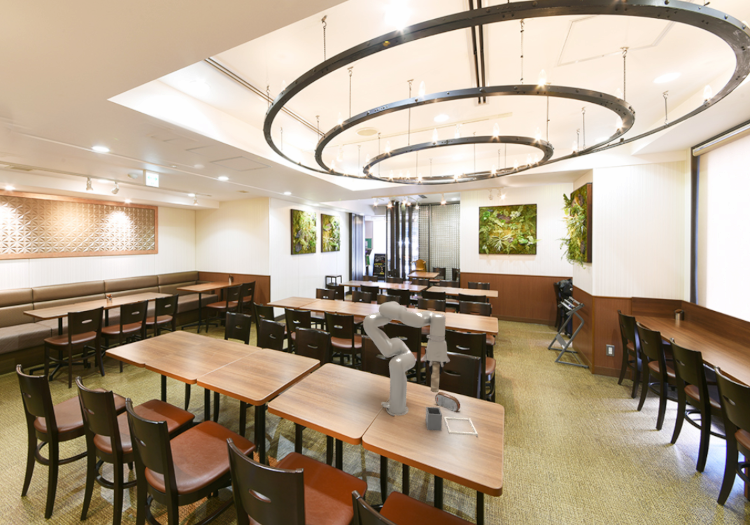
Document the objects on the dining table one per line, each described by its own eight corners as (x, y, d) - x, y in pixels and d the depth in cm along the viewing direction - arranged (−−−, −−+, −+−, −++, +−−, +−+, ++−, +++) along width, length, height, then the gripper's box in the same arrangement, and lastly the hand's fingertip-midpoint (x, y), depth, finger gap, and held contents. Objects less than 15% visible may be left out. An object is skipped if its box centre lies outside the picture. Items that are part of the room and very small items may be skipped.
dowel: (431, 392, 145) (432, 365, 144) (430, 388, 149) (431, 362, 148) (439, 392, 145) (440, 365, 144) (437, 388, 149) (439, 362, 148)
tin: (460, 413, 162) (460, 398, 162) (457, 415, 160) (458, 400, 160) (436, 403, 172) (437, 389, 172) (434, 405, 170) (434, 391, 170)
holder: (427, 431, 144) (428, 414, 144) (425, 423, 151) (426, 406, 151) (441, 432, 144) (442, 415, 144) (438, 424, 151) (439, 407, 151)
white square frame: (449, 435, 142) (449, 432, 142) (443, 420, 155) (444, 416, 155) (477, 437, 141) (477, 433, 141) (469, 421, 154) (470, 418, 154)
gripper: (421, 339, 142) (419, 375, 143) (455, 341, 142) (453, 377, 143) (419, 335, 150) (418, 369, 151) (451, 336, 149) (450, 371, 150)
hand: (435, 372), depth 147 cm, fingers closed on dowel, 4 cm apart
